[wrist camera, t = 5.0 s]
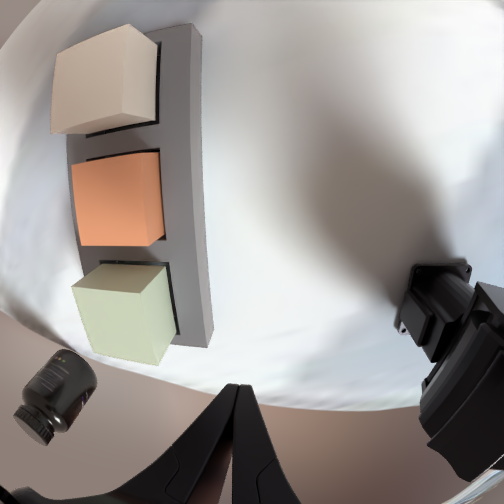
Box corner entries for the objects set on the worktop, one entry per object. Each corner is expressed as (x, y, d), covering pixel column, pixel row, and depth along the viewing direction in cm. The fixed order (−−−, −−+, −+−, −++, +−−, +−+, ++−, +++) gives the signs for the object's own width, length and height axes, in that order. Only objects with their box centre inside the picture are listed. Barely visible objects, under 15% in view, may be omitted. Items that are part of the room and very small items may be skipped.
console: (202, 36, 15) (192, 22, 12) (213, 329, 22) (207, 347, 20) (89, 66, 16) (71, 60, 13) (113, 318, 23) (100, 333, 21)
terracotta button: (167, 152, 17) (140, 152, 14) (172, 228, 19) (148, 246, 15) (104, 160, 18) (71, 165, 14) (111, 229, 20) (81, 245, 16)
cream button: (157, 45, 13) (128, 23, 9) (155, 120, 15) (122, 113, 11) (91, 65, 14) (56, 54, 10) (88, 134, 15) (50, 133, 12)
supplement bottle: (105, 393, 28) (64, 461, 17) (67, 379, 29) (25, 436, 17) (89, 354, 26) (34, 426, 15) (51, 341, 26) (-4, 399, 15)
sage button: (165, 266, 18) (140, 293, 14) (176, 331, 20) (158, 365, 16) (102, 263, 19) (71, 286, 15) (117, 324, 20) (93, 352, 17)
